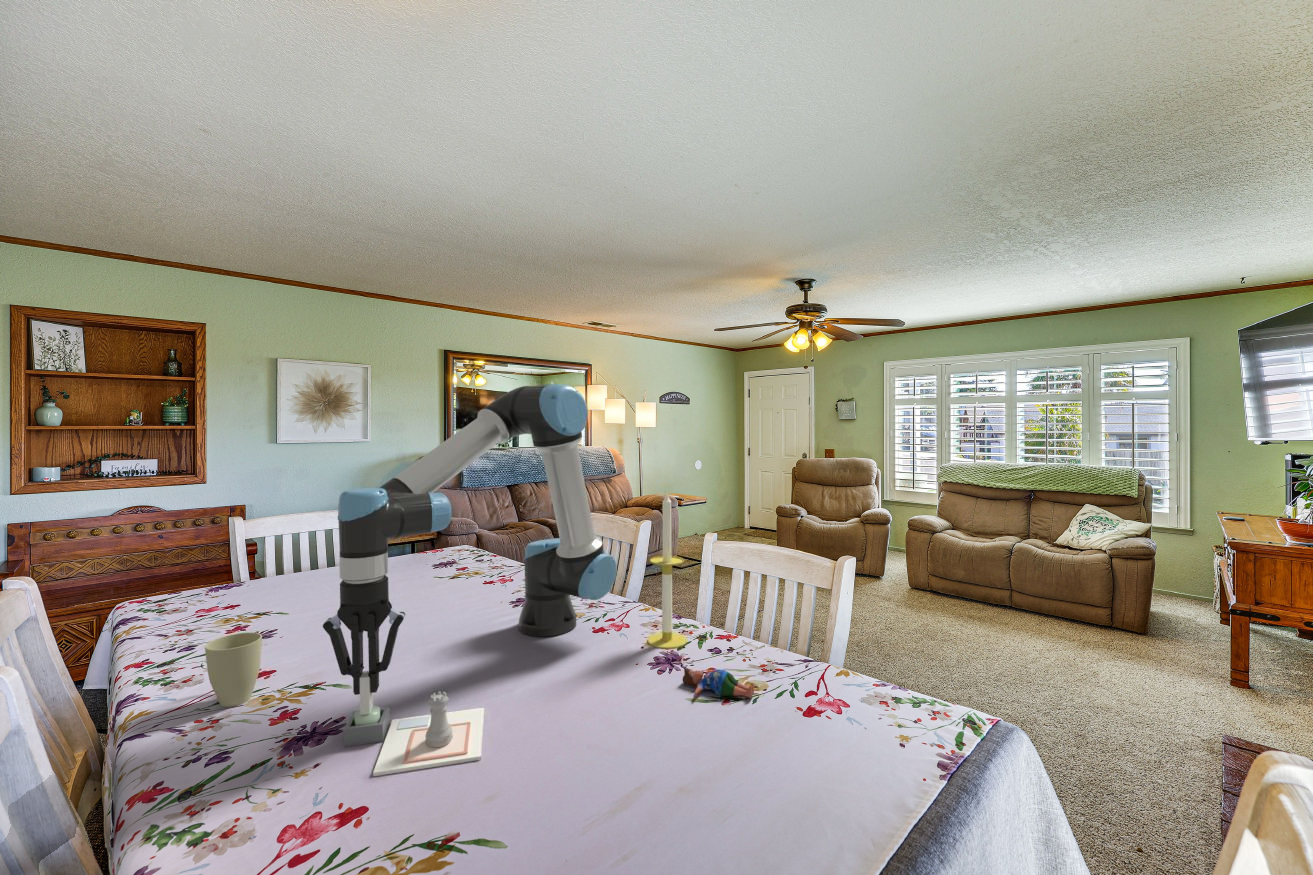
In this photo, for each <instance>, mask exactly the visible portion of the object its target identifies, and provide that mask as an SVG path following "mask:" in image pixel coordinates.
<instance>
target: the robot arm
mask: <svg viewBox="0 0 1313 875" xmlns="http://www.w3.org/2000/svg"><path fill="white" fill-rule="evenodd" d="M588 419H589V410H588V405H587V402H586V400H585V398H584V396H583V395H582V393H581V392H580V391H579V390H577V389H576V388H574V387H573V386H571V385H567V384H559V383H549V384H538V385H523V386H519V387H516V388H513V389H512V390H510V391H507V392H506V393H504V394H503V395H501V396H499V397H498V398H496V399H495V400H493V401H492V402H490V403H489V404H488V405H486V406H485V407H483V408H482V409H480V410H479V411H478V412H477V418H475V419H474V420H472V421H471V422H469V423H468V424H467V425H466V426H464V427H463V428H461V429H460V430H458V431H457V432H456V433H454V434H453V435H452V436H450V437H449V438H447V439H446V440H444V441H443V442H441V443H440V444H438V445H437V446H436V447H434V448H433V449H432V450H431V451H429V452H427V453H425V455H424V456H422V457H420V458H418V460H415V462H413V463H412V464H411V465H409V466H408V467H406V468H405V469H404V470H402V471H401V472H399V473H398V474H397V475H395V476H394V477H392V478H391V479H390V480H388V481H386V482H385V483H384V484H382V485H381V486H379V487H378V486H377V487H366V488H364V487H363V488H352V489H347V490H344V491H343V492H341V493H340V496H339V498H338V507H337V508H338V510H337V511H338V512H337V520H338V539H339V540H338V542H339V543H338V544H339V579H340V580H341V581H340V583H339V604H340V605H339V608H338V610H337V612H336V614H335V615H334V616H332V617H329V618H327V620H326V621H324V623H323V624H322V628H323V629H324V631H325V632H326V633H327V634H328V636H329V640H330V642H331V645H332V647H333V648H332V649H333V652H334V655H335V658H336V662H337V665H338V669H339V671H340V674H341V676H347V675H348V676H351V677H352V683H353V684H352V685H353V687H352V690H353V691H352V692H353V694H354V696H358V695H359V709H360V715H366V714H370V712H371V710H372V708H373V706H374V693H378V692H377V691H378V689H379V687H380V674H379V673H381V672H384V671H387V670H388V668H389V666H390V664H391V661H392V658H393V651H394V648H395V644H396V640H397V637H398V631H399V627H400V625H401V624H402V623H403V621H404V620H405V617H406V613H405V612H404V611H400V612H399V611H397V610H395V609H393V606H392V603H391V602H390V599H389V593H390V592H389V577H388V576H387V574H388V573H389V552H388V551H389V547H388V546H389V540H395V539H399V538H405V537H407V538H408V537H412V536H417V535H418V536H419V535H424V534H429V535H430V534H432V533H435V532H438V531H442V530H445V529H446V528H447V527H448V526H449V525H450V523H451V522H452V521H451V520H452V510H453V508H452V505H451V502H450V500H449V498H448V496H446V495H445V494H444V493H443V492H436V491H437V490H439V489H440V488H442V486H444V485H446V483H448V482H449V481H450V480H452V479H453V478H454V477H456V476H457V475H458V474H460V473H461V472H462V471H464V470H465V469H466V468H468V466H470V465H471V464H473V463H474V462H476V461H477V460H478V459H479V458H480V457H481V456H483V455H484V454H486V453H487V452H488V451H490V450H491V449H492V448H494V447H495V446H496V445H497V444H500V445H502V444H505V443H508V441H510V440H511V439H513V438H515V437H518V436H521V435H531V439H532V444H533V448H535V449H537V450H538V451H540V452H541V456H542V460H543V465H544V470H545V475H546V479H547V485H548V489H549V493H550V498H551V503H552V508H553V512H554V517H555V523H556V527H557V530H558V531H557V532H558V536H559V537H557V538H547V539H542V540H540V539H539V540H536V541H532V542H529V543H528V544H527V545H526V546H525V548H524V558H523V560H524V561H523V562H524V563H523V564H524V592H525V593H524V596H525V597H524V600H523V601H524V602H523V606H522V609H521V611H520V615H519V617H518V618H519V619H518V630H519V632H520V633H522V634H525V635H526V636H532V637H551V636H552V637H553V636H557V635H562V634H566V633H569V632H570V631H573V630H574V629H575V628H576V627H577V613H576V611H575V608H574V605H573V602H572V599H571V596H573V597H576V598H580V599H582V600H590V601H598V600H601V599H602V598H604V597H605V596H606V595H607V594H608V593H609V592H610V591H611V589H612V587H613V585H614V583H615V581H616V578H617V572H618V566H617V561H616V559H615V558H614V556H612V555H611V554H609V553H607V552H605V549H604V543H603V540H602V539H601V538H600V537H599V536H597V535H595V529H594V525H593V519H592V514H591V509H590V504H589V503H590V502H589V498H588V492H587V488H586V483H585V482H586V481H585V477H584V472H583V467H582V461H581V457H580V452H579V446H578V444H580V443H579V442H580V441H581V440H582V439H583V433H582V432H583V430H584V429H585V427H586V426H587V421H588ZM387 617H389V620H388V622H389V624H390V628H389V631H388V634H387V638H386V643H385V646H384V650H383V654H382V659H381V661H380V638H379V637H380V628H381V626H382V624H383V623H384V622H385V621H386V619H387ZM342 623H343V624H344V625H345V627H346V628H347V630H349V631H350V638H351V657H350V654H349V650H348V647H347V644H346V640H345V638H344V637H345V636H344V634H343V630H342V628H341V626H342ZM364 632H366V634H367V644H368V646H367V648H368V649H367V650H368V670H365V671H364V669H365V666H364Z"/></svg>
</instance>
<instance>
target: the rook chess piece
mask: <svg viewBox="0 0 1313 875" xmlns="http://www.w3.org/2000/svg"><path fill="white" fill-rule="evenodd" d="M449 699H450V698H449V697H448V696H447V693H446V691H437V694H436V692H433V693H432V694H431V695H430V698H429V700H428V702H427V704H428V705H429V706H430V709H429V712H430V715H431V722H430V726H429V728H428V731H427V732H426V736H425V737H426V739H425V743H426V744H427V745H428V746H429V747H431V748H439V747H442V746H445V745H447V744H448V743H449V742H450V741H451V740H452V738H453V734H452V728H451V727H450V724H449V723H448V721H447V715H446V713H447V710H448V706H447V703H448V702H449Z"/></svg>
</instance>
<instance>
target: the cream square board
mask: <svg viewBox="0 0 1313 875" xmlns="http://www.w3.org/2000/svg"><path fill="white" fill-rule="evenodd" d="M446 715H447V721H448V723H449V724H450V727H451V728H452V734H453V738H452V740H451V741H450V742H449V743H448V744H447V745H445V746H442V747H439V748H431V747H429V746H428V745H427V744H426V743H425V739H426V737H425V736H426V732H427V731H428V728H429V726H430V722H431V714H426V715H418V716H417V715H416V716H410V717H403V718H394V719H392V720H391V723H390V724H389V727H388V730H387V733H386V735H385V738H384V741H383V745H382V748H381V749H380V753H379V755H378V758H377V762H376V764H375V767H374V769H373V771H372V776H373V777H377V776H384V775H391V774H397V773H406V772H409V771H417V770H424V769H431V768H437V767H443V766H450V765H456V764H462V763H469V762H475V761H480V760H482V750H483V746H482V745H483V736H484V735H483V732H484V719H485V718H484V717H485V707H480V708H479V707H478V708H477V707H476V708H471V709H464V710H454V711H449V712H448V711H446Z"/></svg>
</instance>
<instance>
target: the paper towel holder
mask: <svg viewBox="0 0 1313 875" xmlns="http://www.w3.org/2000/svg"><path fill="white" fill-rule="evenodd" d="M649 561H650V563H651V564H652V565H656V566H660V567H661V572H662V573H661V591H662V592H661V599H662V600H661V626H662V628H661V632H655V633H653V634H651V635H649V636H648V637H647V640H646V642H647V643H648V645H650V646H652V647H653V648H656V649H663V650H664V649H665V650H671V649H677V648H680V647H684V646H685V645H686V644H687V642H688V638H687V637H686V636H685V635H683V634H682V633H677V632H673V566H678V565H681V564H684V561H685V559H684V558H683V557H681V556H677V555H672V500H671V499H670V497H669V493H668V492H665V497H664V499H663V501H662V555H657V556H653V557H651V558H650V559H649Z"/></svg>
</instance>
